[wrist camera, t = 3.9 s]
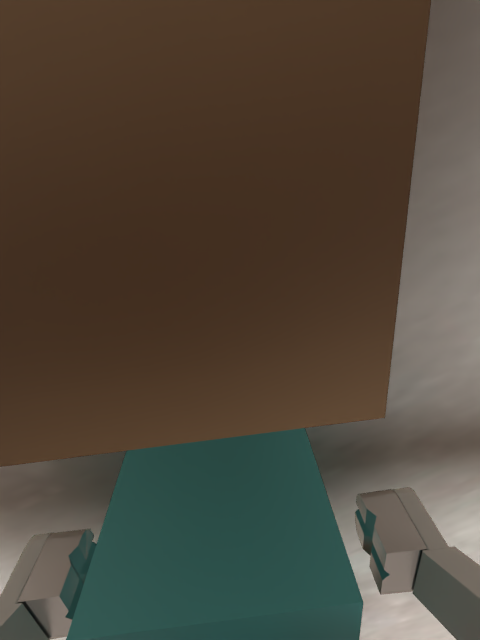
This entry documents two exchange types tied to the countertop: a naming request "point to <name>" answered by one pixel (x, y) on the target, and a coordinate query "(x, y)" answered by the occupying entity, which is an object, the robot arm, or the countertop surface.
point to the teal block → (220, 547)
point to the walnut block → (200, 216)
